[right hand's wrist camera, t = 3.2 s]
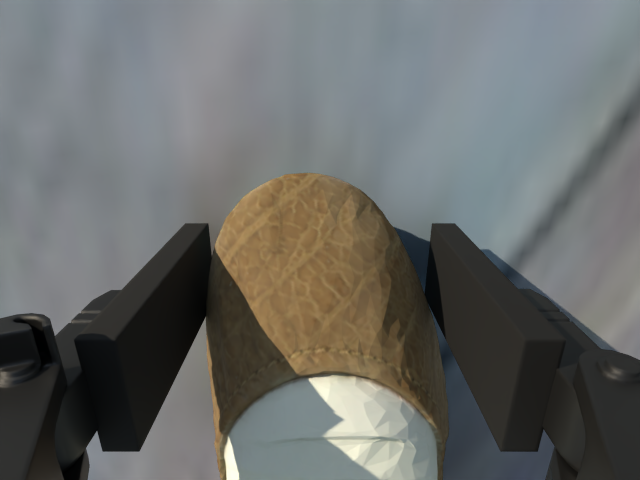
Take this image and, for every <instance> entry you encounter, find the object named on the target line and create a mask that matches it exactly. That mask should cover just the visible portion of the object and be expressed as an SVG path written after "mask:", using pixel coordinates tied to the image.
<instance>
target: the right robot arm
mask: <svg viewBox="0 0 640 480" xmlns="http://www.w3.org/2000/svg"><path fill="white" fill-rule="evenodd" d="M211 259H212V255H211V245H210V236H209V226H208V224H185V225H184V226H183V227H182V228H181V229H180V230H179V231H178V232H177V233H176V234H175V235H174V236H173V237H172V238H171V239H170V240H169V241H168V242H167V243H166V244H165V245H164V246H163V247H162V248H161V250H160V251H159V252H158V253H157V254H156V255H155V256H154V257H153V258H152V259H151V260H150V261H149V262H148V263H147V264H146V265H145V266H144V267H143V268H142V269H141V270H140V271H139V272H138V273H137V274H136V276H135V277H134V278H133V279H132V280H131V281H130V282H129V283H128V284H127V285H126V286H125V287H124V288H123V289H122V290H111V291H109V292H107V293H105V294H103V295H101V296H99V297H98V298H96V299H94V300H92V301H91V302H90V303H89V304H88V305H87V306H86V307H85V308H84V309H83V310H82V311H81V313H79V314H78V315H77V316H76V317H75V318H74V319H73V320H72V321H71V323H68V324H67V325H66V326H65V327H64V328H63V329H62V330H61V331H60V332H59V333H58V334H57V335H56V336H55V335H54V332H53V328H52V325H51V321H50V319H49V318H48V317H46V316H45V315H42V314H34V313H29V314H18V315H13V316H9V317H5V318H0V480H87V479H88V473H89V458H88V454H87V450H86V447H87V445H88V444H89V442H90V441H91V439H92V438H93V436H94V434H95V433H96V431H98V435H99V439H100V443H101V447H102V451H140V449H141V447H142V445H143V443H144V441H145V439H146V437H147V435H148V433H149V431H150V429H151V427H152V425H153V423H154V421H155V419H156V417H157V415H158V413H159V411H160V409H161V407H162V405H163V402H164V400H165V398H166V396H167V394H168V392H169V390H170V388H171V386H172V384H173V382H174V380H175V378H176V376H177V374H178V372H179V370H180V368H181V366H182V364H183V362H184V360H185V358H186V356H187V354H188V352H189V349H190V347H191V345H192V343H193V341H194V339H195V337H196V335H197V333H198V331H199V329H200V327H201V325H202V323H203V321H204V319H205V317H206V300H207V291H208V281H209V273H210V266H211ZM425 297H426V300H427V302H428V304H429V306H430V308H431V310H432V312H433V314H434V316H435V318H436V320H437V322H438V324H439V326H440V329H441V331H442V333H443V335H444V337H445V339H446V341H447V343H448V345H449V347H450V349H451V351H452V353H453V355H454V357H455V359H456V361H457V363H458V365H459V367H460V369H461V371H462V373H463V375H464V377H465V379H466V382H467V384H468V386H469V388H470V390H471V392H472V394H473V396H474V398H475V400H476V402H477V404H478V406H479V408H480V410H481V412H482V414H483V416H484V418H485V420H486V422H487V424H488V426H489V428H490V430H491V432H492V434H493V437H494V439H495V441H496V443H497V445H498V447H499V449H500V451H518V452H538V448H539V444H540V440H541V437H542V433H543V429H544V430H545V432H546V433H547V435H548V436H549V438H550V439H551V441H552V443H553V444H554V446H555V447H554V450H553V454H552V458H551V461H550V465H549V468H548V472H547V476H546V479H545V480H640V360H638V359H636V358H634V357H631V356H629V355H626V354H623V353H619V352H616V351H612V350H602V349H600V348H599V347H598V346H597V345H596V344H595V343H594V342H593V341H592V340H591V339H590V338H589V337H588V336H587V335H586V334H585V333H584V332H582V331H581V330H580V329H579V328H578V327H577V326H576V325H575V324H574V323H573V322H570V321H569V318H568V317H567V316H566V315H564V314H563V313H562V312H560V311H559V309H558V308H557V307H556V306H555V305H554V304H553V303H552V302H551V301H550V300H549V299H548V298H546V297H544V296H542V295H540V294H538V293H536V292H534V291H533V290H531V289H517V288H516V287H515V286H514V285H513V284H512V282H511V281H510V280H509V279H508V278H507V277H506V276H505V275H504V274H503V273H502V272H501V271H500V270H499V269H498V268H497V267H496V266H495V265H494V264H493V263H492V262H491V261H490V260H489V259H488V258H487V256H486V255H485V254H484V253H483V252H482V251H481V250H480V249H479V248H478V247H477V246H476V245H475V244H474V243H473V242H472V241H471V240H470V239H469V238H468V237H467V236H466V235H465V234H464V233H463V232H462V230H461V229H460V228H459V227H458V226H457V225H456V224H432V229H431V239H430V248H429V258H428V267H427V277H426V286H425Z"/></svg>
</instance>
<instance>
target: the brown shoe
mask: <svg viewBox="0 0 640 480" xmlns="http://www.w3.org/2000/svg"><path fill="white" fill-rule="evenodd" d="M206 331H207V359H208V370H209V375H210V381H211V393H212V400H213V410H214V427H215V433H216V438H215V443H214V445H215V449H216V453H217V462H218V468H219V472H220V478H221V480H443V460H444V455H445V443H446V440H447V438H448V434H449V423H448V401H447V395H446V382H445V374H444V370H443V366H442V360H441V355H440V350H439V342H438V337H437V332H436V328H435V324H434V321H433V317H432V314H431V311H430V308H429V305H428V302H427V300H426V297H425V294H424V291H423V288H422V285H421V282H420V280H419V277H418V275H417V273H416V270H415V268H414V265H413V263H412V262H411V260H410V258H409V256H408V254H407V252H406V250H405V248H404V245H403V243H402V241H401V240H400V238H399V236H398V234H397V232H396V230H395V228H394V227H393V226H392V225H391V224H390V223H389V221H388V220H387V219H386V217H385V215H384V214H383V212H382V211H381V210H380V209H379V208H378V206H377V205H376V204H375V202H374V201H373V200H371V199H370V198H369V197H368V196H367V195H366V194H365V193H363V192H362V191H361V190H360V189H358V188H356V187H354V186H352V185H351V184H349V183H346V182H344V181H342V180H339V179H337V178H334V177H331V176H326V175H322V174H315V173H300V174H287V175H284V176H282V177H279V178H275V179H272V180H270V181H268V182H266V183H264V184H263V185H261V186H259V187H257V188H256V189H254V190H252V191H251V192H249V193H248V194H247V195H245V196H244V197H243V198H242V199H241V200H240V202H239V203H238V204H237V205H236V207H235V208H234V209H233V210H232V211H231V212H230V214H229V215H228V217H227V218H226V220H225V222H224V224H223V227H222V229H221V231H220V233H219V236H218V238H217V241H216V244H215V247H214V251H213V255H212V259H211V266H210V273H209V281H208V291H207V300H206Z"/></svg>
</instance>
